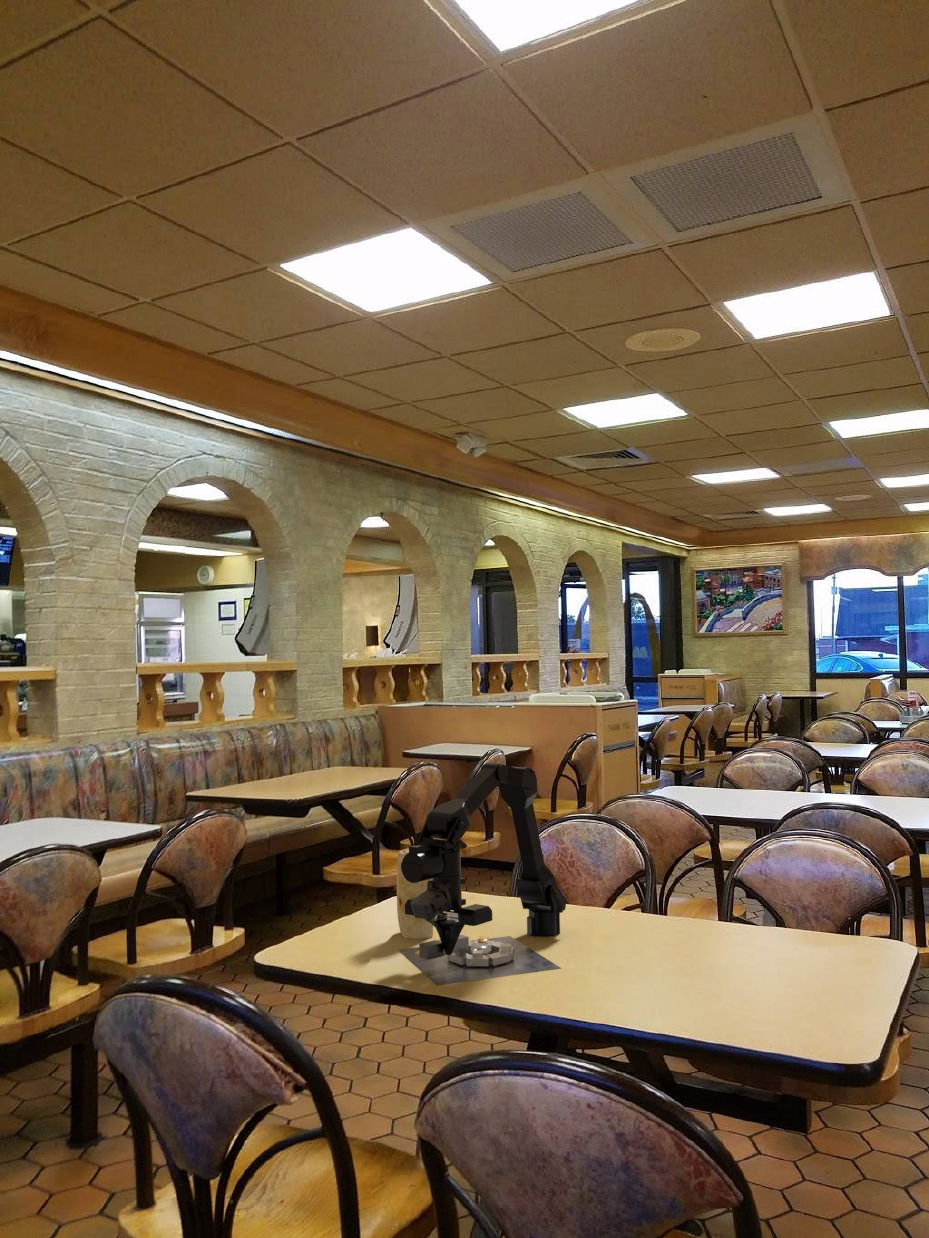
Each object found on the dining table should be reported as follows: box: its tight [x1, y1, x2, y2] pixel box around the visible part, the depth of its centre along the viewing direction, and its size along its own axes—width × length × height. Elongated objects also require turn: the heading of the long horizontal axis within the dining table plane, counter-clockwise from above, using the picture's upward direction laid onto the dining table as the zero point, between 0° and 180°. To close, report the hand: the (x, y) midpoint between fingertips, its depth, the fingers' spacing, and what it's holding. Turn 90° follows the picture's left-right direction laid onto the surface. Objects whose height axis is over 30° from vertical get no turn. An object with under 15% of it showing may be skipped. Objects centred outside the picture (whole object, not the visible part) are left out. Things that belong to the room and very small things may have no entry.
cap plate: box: [397, 935, 562, 986], centre depth 200 cm, size 26×26×3 cm
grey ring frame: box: [418, 934, 514, 966], centre depth 198 cm, size 21×13×5 cm, turn 128°
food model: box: [396, 847, 434, 940], centre depth 220 cm, size 10×7×20 cm
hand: (448, 954), depth 192 cm, fingers closed
